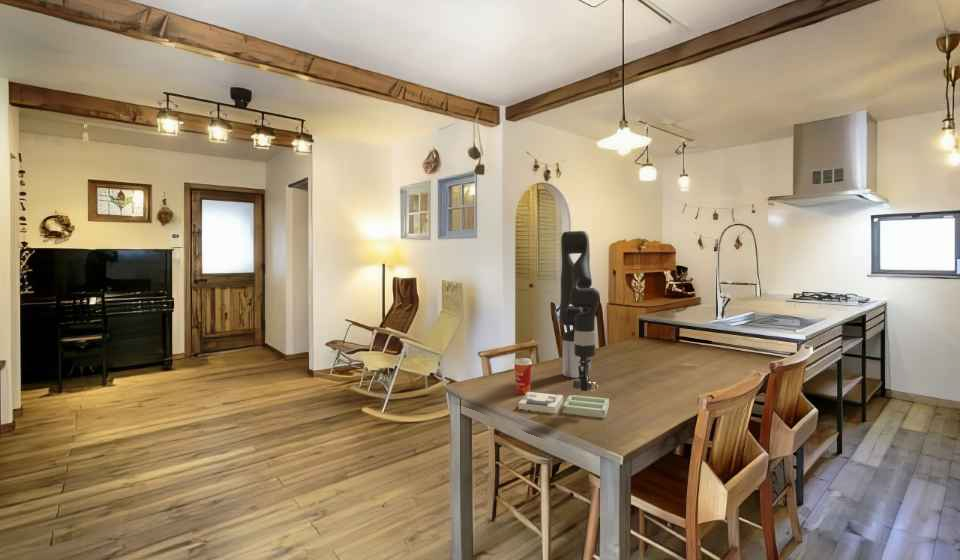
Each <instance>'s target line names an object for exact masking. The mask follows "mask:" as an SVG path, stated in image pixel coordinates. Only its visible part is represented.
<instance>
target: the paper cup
mask: <svg viewBox="0 0 960 560" xmlns="http://www.w3.org/2000/svg"><path fill="white" fill-rule="evenodd" d="M513 364H514V376H515V389H516V394H518V393H519V395H522V394H526V393H527V392H531V382H532V381H531V379H532V378H531V377H532V376H531V375H532V364H533V361H532V360H531V359H530V358H526V357H518V358H515V359H514V362H513Z"/></svg>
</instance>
